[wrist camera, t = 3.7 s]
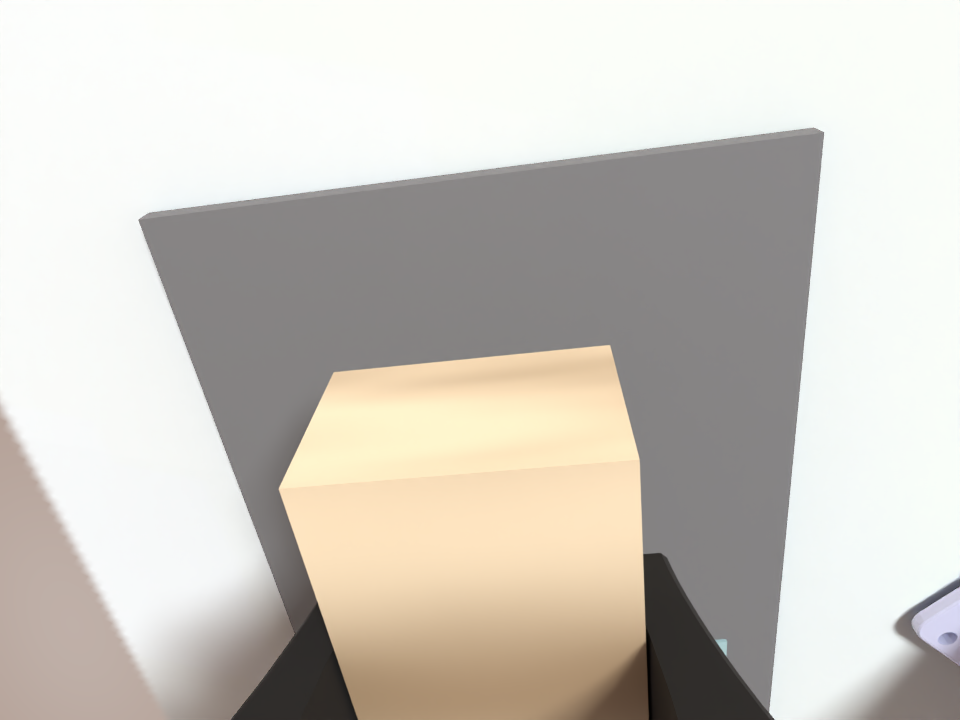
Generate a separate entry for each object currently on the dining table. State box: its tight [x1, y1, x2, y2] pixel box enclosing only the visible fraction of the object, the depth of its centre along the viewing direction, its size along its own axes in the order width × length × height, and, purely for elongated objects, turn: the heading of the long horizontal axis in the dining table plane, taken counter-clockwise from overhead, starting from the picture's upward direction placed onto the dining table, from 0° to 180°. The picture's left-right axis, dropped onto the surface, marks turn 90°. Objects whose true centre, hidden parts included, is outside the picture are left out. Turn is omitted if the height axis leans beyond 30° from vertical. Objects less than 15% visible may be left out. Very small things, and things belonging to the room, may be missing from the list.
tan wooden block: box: [279, 345, 649, 720], centre depth 12 cm, size 9×4×3 cm, turn 8°
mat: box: [139, 128, 824, 712], centre depth 20 cm, size 24×14×1 cm, turn 8°
